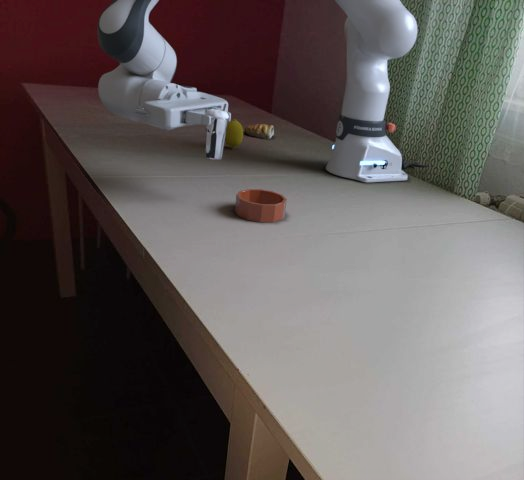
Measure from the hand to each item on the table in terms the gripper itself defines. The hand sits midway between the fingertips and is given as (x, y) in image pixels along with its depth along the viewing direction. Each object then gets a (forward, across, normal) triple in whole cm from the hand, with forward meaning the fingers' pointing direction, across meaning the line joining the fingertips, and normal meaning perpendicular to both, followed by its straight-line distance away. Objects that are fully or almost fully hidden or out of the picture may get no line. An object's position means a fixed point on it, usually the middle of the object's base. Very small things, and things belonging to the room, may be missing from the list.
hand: (220, 119), depth 104 cm
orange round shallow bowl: (+10, +2, +17) cm, 19 cm away
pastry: (-29, +66, +17) cm, 74 cm away
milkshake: (-1, 0, +8) cm, 8 cm away
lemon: (-25, +44, +17) cm, 53 cm away
